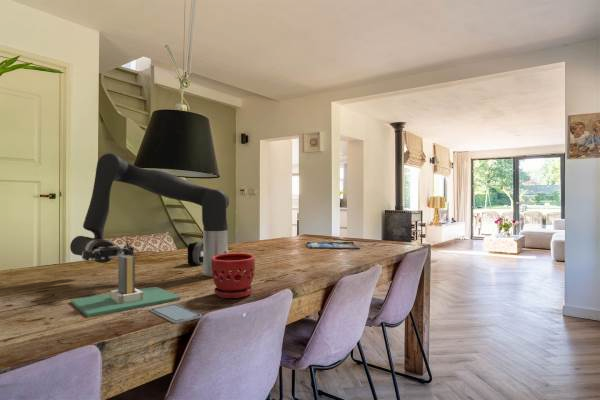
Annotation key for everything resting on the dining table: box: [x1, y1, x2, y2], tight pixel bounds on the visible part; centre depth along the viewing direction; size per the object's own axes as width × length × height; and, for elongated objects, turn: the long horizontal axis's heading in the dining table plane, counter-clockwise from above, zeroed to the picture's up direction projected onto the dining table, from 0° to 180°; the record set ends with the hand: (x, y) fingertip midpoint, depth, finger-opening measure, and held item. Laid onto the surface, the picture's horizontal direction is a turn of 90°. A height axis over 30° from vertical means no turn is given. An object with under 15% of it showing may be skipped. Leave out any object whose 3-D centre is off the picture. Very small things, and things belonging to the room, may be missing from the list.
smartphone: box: [149, 303, 202, 324], centre depth 94 cm, size 7×1×15 cm
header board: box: [70, 286, 181, 318], centre depth 106 cm, size 24×18×3 cm
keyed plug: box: [117, 255, 136, 294], centre depth 105 cm, size 3×5×12 cm, turn 43°
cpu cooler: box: [186, 241, 203, 266], centre depth 168 cm, size 10×6×10 cm, turn 168°
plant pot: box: [211, 252, 256, 299], centre depth 113 cm, size 13×13×12 cm
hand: (115, 254), depth 114 cm, fingers open, 8 cm apart
